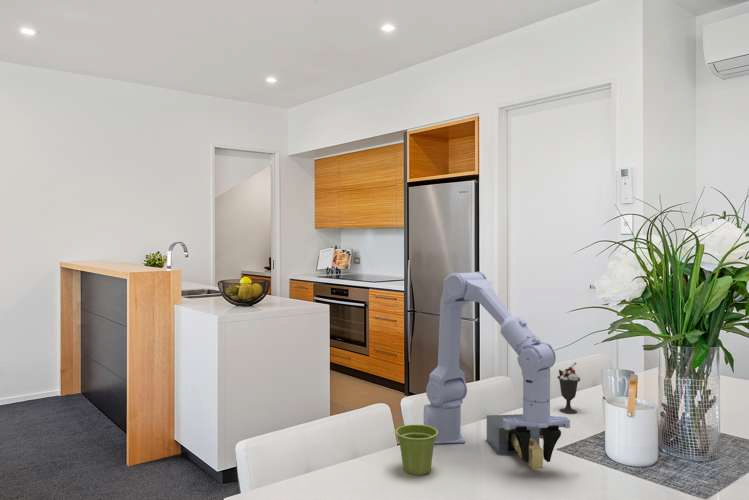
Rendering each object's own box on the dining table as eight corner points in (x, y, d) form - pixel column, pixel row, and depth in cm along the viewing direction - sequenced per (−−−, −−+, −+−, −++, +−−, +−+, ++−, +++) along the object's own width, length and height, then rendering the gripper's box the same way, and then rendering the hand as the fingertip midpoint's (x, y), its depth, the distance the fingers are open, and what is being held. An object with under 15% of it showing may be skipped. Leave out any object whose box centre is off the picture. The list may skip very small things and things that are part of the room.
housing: (498, 454, 130) (498, 428, 130) (486, 440, 140) (486, 415, 140) (539, 453, 131) (539, 427, 131) (524, 439, 141) (524, 414, 141)
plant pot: (409, 482, 115) (409, 441, 115) (388, 466, 123) (388, 427, 123) (446, 473, 119) (446, 434, 119) (423, 458, 127) (423, 422, 127)
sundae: (583, 414, 161) (584, 364, 161) (561, 414, 161) (561, 364, 161) (575, 408, 168) (576, 359, 168) (553, 408, 168) (554, 359, 168)
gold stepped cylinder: (525, 471, 119) (526, 447, 119) (506, 448, 132) (506, 427, 132) (549, 470, 119) (549, 446, 119) (526, 448, 132) (526, 426, 132)
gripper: (510, 404, 115) (510, 469, 115) (576, 403, 116) (576, 466, 116) (499, 395, 122) (499, 456, 122) (562, 394, 123) (561, 454, 124)
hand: (536, 460), depth 120 cm, fingers open, 4 cm apart
